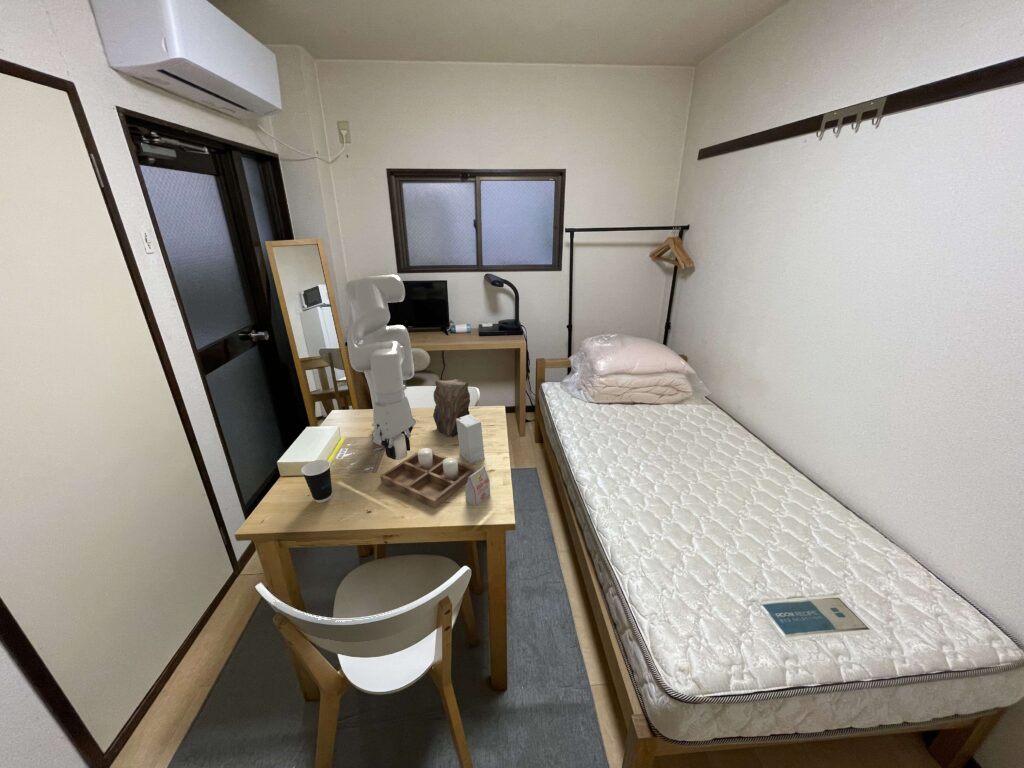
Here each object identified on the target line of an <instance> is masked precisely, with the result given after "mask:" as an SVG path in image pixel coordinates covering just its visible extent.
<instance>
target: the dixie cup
mask: <svg viewBox="0 0 1024 768" xmlns="http://www.w3.org/2000/svg"><path fill="white" fill-rule="evenodd" d="M331 465H332V464H331V462H330V461H329V460H327V459H315V460H313V461H310V462H307V463H305V465H303V466H302V467H301V470H300V473H301V474H302V475H303V477H304V480H305V482H306V484H307V487H308V489H309V491H310V494H311V496H312V498H313V500H314V501H315V502H316V503H324V502H326V501H329V500H331V498H332V496H333V495H332V494H333V486H332V476H331Z"/></svg>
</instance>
